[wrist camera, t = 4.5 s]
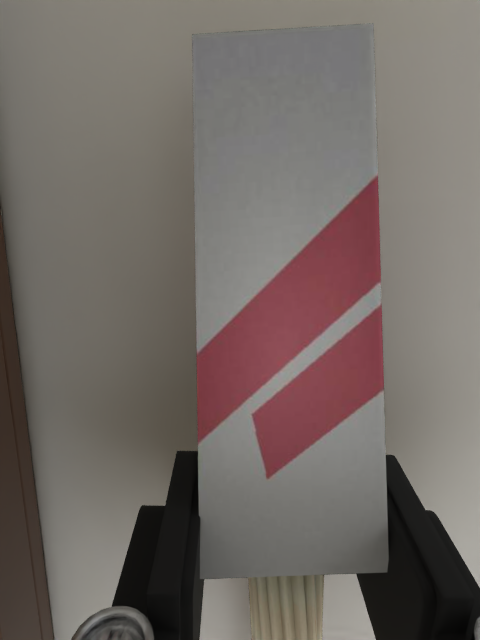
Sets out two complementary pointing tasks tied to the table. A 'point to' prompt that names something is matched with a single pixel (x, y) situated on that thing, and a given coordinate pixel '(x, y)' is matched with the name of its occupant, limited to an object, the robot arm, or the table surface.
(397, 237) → the table surface
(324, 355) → the paintbrush
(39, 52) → the table surface
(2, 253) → the tray
